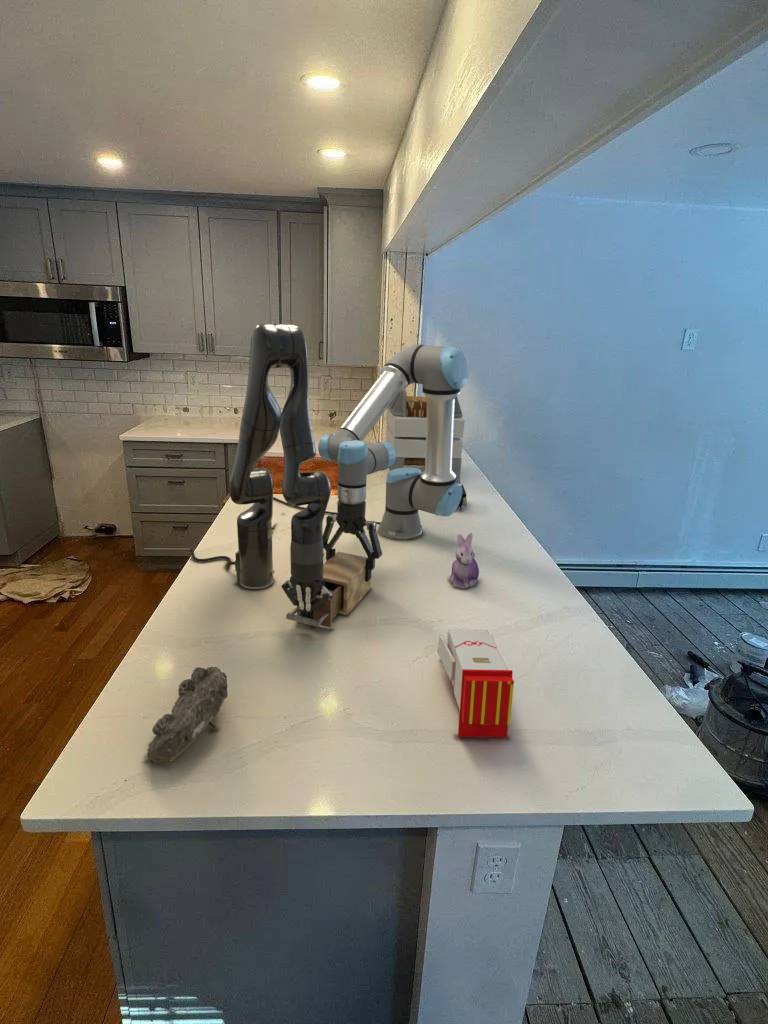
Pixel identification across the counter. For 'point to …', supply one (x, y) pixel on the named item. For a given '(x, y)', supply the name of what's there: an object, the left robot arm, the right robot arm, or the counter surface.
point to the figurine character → (463, 499)
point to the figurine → (464, 564)
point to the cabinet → (347, 577)
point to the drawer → (323, 608)
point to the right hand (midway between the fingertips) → (349, 575)
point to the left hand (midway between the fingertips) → (307, 621)
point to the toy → (478, 682)
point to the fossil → (189, 713)
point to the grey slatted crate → (417, 432)
